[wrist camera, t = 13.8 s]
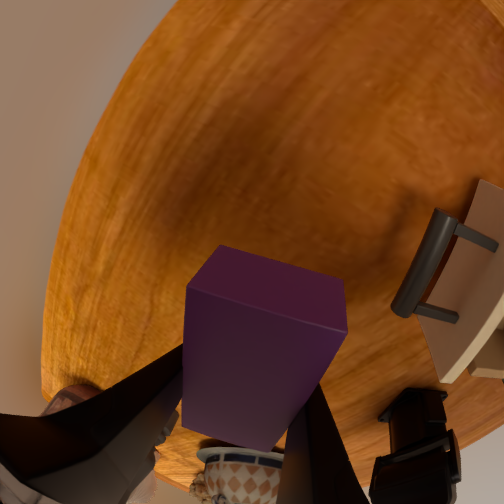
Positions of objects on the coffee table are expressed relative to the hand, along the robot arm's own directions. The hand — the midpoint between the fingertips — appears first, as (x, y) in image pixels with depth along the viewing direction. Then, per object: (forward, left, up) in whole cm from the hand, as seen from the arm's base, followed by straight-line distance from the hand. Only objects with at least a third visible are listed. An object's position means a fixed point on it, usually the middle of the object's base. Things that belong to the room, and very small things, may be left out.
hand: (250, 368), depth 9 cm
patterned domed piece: (-40, -6, -12) cm, 42 cm away
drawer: (+3, -16, -11) cm, 19 cm away
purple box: (0, 0, -1) cm, 1 cm away
